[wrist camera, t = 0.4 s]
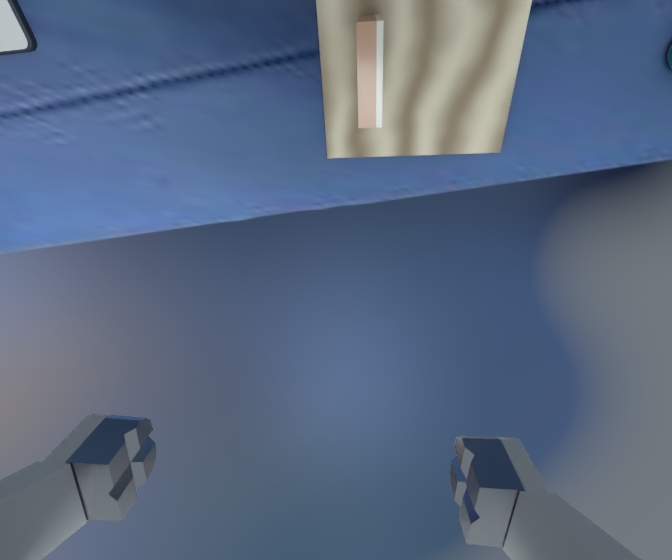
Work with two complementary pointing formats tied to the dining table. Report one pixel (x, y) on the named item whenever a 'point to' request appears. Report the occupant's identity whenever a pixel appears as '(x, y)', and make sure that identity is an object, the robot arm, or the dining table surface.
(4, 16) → the phone case
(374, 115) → the tile
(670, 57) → the beverage can
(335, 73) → the board
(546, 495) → the robot arm
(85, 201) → the dining table surface
